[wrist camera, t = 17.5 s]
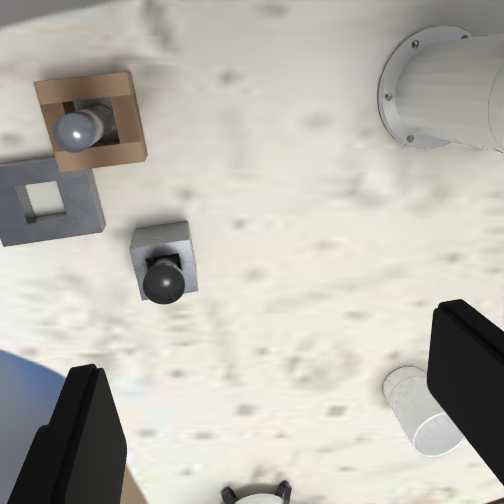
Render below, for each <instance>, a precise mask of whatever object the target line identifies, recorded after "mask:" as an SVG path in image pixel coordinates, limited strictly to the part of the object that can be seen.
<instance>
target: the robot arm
mask: <svg viewBox="0 0 504 504" xmlns="http://www.w3.org/2000/svg"><path fill="white" fill-rule="evenodd" d="M412 43H413V47H412ZM386 94H387V97H386V98H385V95H386ZM378 102H379V111H380V115H381V118H382V121H383V123H384V125H385V127H386V129H387V130H388V132H389V133H390V134H391V135H392V136H393V137H394V138H395V139H396V140H398V141H399V142H400V143H402V144H405V145H407V146H410V147H414V148H417V149H431V148H437V147H440V146H443V145H446V144H448V143H450V142H451V141H452V142H457V143H461V144H466V145H470V146H475V147H479V148H484V149H488V150H493V151H497V152H502V153H504V33H499V34H492V35H485V36H478V37H474V36H473V35H472V34H471V33H469V32H467V31H465V30H464V29H462V28H459V27H455V26H445V25H441V26H435V27H430V28H427V29H424V30H421V31H419V32H417V33H416V34H414V35H412V36H410V37H409V38H408V39H407V40H406V41H404V42H403V43H402V44H401V45H400V46H399V47H398V49H397V50H396V51H395V52H394V53H393V55H392V56H391V58H390V60H389V61H388V63H387V65H386V67H385V70H384V72H383V74H382V77H381V82H380V86H379V96H378ZM407 136H408V138H407ZM427 387H428V390H429V392H430V393H431V395H432V396H433V397H434V399H435V400H436V401H437V402H438V404H439V405H440V406H441V408H442V409H443V410H444V411H445V413H446V414H447V415H448V416H449V418H450V419H451V420H452V421H453V423H454V424H455V425H456V426H457V428H458V429H459V430H460V431H461V433H462V434H463V435H464V436H465V438H466V439H467V440H468V441H469V443H470V444H471V445H472V447H473V448H474V449H475V450H476V452H477V453H478V454H479V455H480V457H481V458H482V459H483V460H484V462H485V463H486V464H487V465H488V467H489V468H490V469H491V470H492V472H493V473H494V474H495V475H496V477H497V478H498V479H499V481H500V482H501V483H502V484H503V486H504V331H502V330H501V329H500V328H499V327H497V326H496V325H495V324H493V323H492V322H491V321H490V320H488V319H487V318H486V317H484V316H483V315H482V314H481V313H479V312H478V311H477V310H475V309H474V308H473V307H472V306H470V305H469V304H468V303H466V302H465V301H464V300H462V299H457V300H451V301H446V302H441V303H440V304H439V305H438V308H436V309H435V310H434V312H433V320H432V330H431V340H430V350H429V360H428V370H427ZM126 457H127V444H126V439H125V436H124V433H123V429H122V426H121V423H120V420H119V416H118V413H117V410H116V407H115V403H114V400H113V397H112V394H111V390H110V387H109V384H108V381H107V377H106V374H105V371H104V369H103V368H98V369H97V367H96V365H95V364H89V365H83V366H77V367H72V368H71V369H70V370H69V373H68V375H67V378H66V380H65V383H64V386H63V388H62V391H61V393H60V396H59V399H58V401H57V404H56V406H55V409H54V412H53V415H52V417H51V419H50V422H49V424H48V425H43V426H41V427H40V428H39V429H38V431H37V433H36V434H35V437H34V439H33V442H32V444H31V447H30V449H29V451H28V454H27V456H26V459H25V461H24V464H23V466H22V469H21V471H20V473H19V476H18V478H17V481H16V483H15V486H14V488H13V490H12V493H11V495H10V498H9V500H8V503H7V504H120V497H121V491H122V485H123V478H124V471H125V464H126ZM500 504H504V503H500Z"/></svg>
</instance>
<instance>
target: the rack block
mask: <svg viewBox="0 0 504 504" xmlns="http://www.w3.org/2000/svg"><path fill="white" fill-rule="evenodd" d="M33 83H34V86H35V90H36V93H37V97H38V100H39V103H40V107H41V110H42V113H43V117H44V120H45V124H46V127H47V130H48V134H49V137H50V141H51V144H52V147H53V151H54V154H55V158H56V161H57V164H58V168H59V171H60V172H67V171H75V170H82V169H90V168H98V167H105V166H113V165H121V164H128V163H136V162H144V161H145V160H146V157H147V155H148V154H147V149H146V144H145V139H144V134H143V129H142V124H141V119H140V114H139V110H138V105H137V100H136V95H135V90H134V85H133V80H132V75H131V73H130V72H121V73H112V74H102V75H93V76H83V77H74V78H65V79H55V80H46V81H36V82H33ZM105 97H110V100H111V105H112V109H113V114H114V118H115V122H116V127H117V131H118V136H119V139H118V140H109V141H101V142H96V143H94V144H93V145H91V146H90V147H89V148H87V149H86V150H85V151H83V152H80V153H70V152H67V151H65V150H63V149H62V148H60V147H59V146H58V145H57V143H56V142H55V140H54V138H53V134H52V128H53V124H54V122H55V121H56V120H57V119H58V118H59V117H60V116H63V115H66V114H69V113H72V112H76V111H75V108H74V104H73V101H78V100H87V99H96V98H105Z"/></svg>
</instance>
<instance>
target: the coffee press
mask: <svg viewBox="0 0 504 504" xmlns="http://www.w3.org/2000/svg"><path fill="white" fill-rule="evenodd" d="M284 490H285V493H284ZM291 490H292V488H291V486H290V485H289V484H287V483H286V482H282V483H281V484H280V486H279V488H278V491H277V493H276V494H275V495H272V494H254V495H250V496H247V497H244V498H242V499H240V500H239V499H238V498H237V497H236V495H235V494H234V492H233V490H232V489H231V488H227V489H226V490H225V491H223V492H222V494H221V495H222V498H223V501H224V503H225V504H289V500H290V494H291ZM283 493H284V499H282V498H281V497H282V495H283Z"/></svg>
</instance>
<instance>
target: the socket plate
mask: <svg viewBox="0 0 504 504" xmlns="http://www.w3.org/2000/svg"><path fill="white" fill-rule="evenodd" d="M50 181H57V184H58V188H59V191H60V194H61V198H62V201H63V204H64V208H65V211H66V213H59V214H52V215H45V216H38V217H35V214H34V211H33V208H32V205H31V202H30V199H29V196H28V194H27V191H26V188H25V185H27V184H35V183H43V182H50ZM105 226H106V222H105V218H104V214H103V211H102V207H101V203H100V199H99V195H98V191H97V188H96V184H95V180H94V176H93V172H92V169H91V168H90V169H82V170H75V171H67V172H60V171H59V168H58V164H57V161H56V158H55V157H47V158H39V159H31V160H23V161H15V162H7V163H0V239H1V242H2V244H3V247H6V246H13V245H19V244H26V243H33V242H40V241H46V240H53V239H60V238H67V237H73V236H80V235H87V234H94V233H100V232H103V230H104V228H105Z"/></svg>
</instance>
